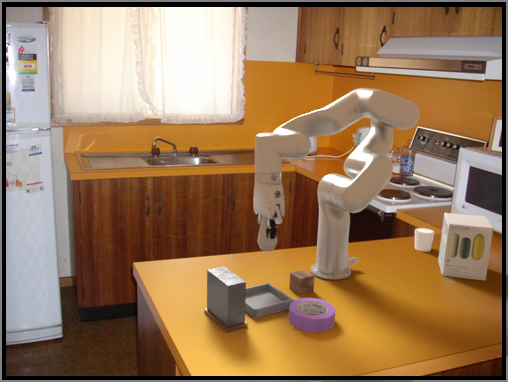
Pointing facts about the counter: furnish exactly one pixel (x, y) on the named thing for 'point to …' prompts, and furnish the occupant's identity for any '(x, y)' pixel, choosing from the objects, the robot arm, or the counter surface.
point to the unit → (226, 299)
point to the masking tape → (311, 322)
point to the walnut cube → (301, 282)
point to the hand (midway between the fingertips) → (267, 238)
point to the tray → (265, 300)
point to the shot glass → (423, 239)
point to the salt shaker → (265, 237)
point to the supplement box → (465, 246)
